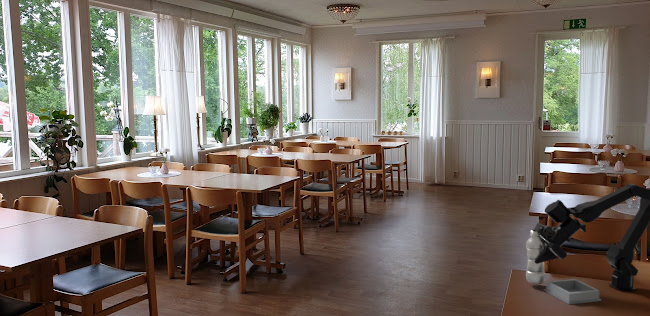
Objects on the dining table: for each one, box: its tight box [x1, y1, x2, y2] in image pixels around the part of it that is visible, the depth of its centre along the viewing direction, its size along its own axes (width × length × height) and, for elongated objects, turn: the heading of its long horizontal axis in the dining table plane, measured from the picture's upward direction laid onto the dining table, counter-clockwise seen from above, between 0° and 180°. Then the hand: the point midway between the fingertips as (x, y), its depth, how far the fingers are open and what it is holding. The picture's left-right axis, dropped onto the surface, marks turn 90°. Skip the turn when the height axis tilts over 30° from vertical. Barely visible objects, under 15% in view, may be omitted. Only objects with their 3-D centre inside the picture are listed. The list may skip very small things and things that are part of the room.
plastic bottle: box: [525, 228, 546, 285], centre depth 185 cm, size 6×7×20 cm
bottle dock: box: [543, 278, 602, 305], centre depth 177 cm, size 13×13×4 cm
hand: (532, 260), depth 185 cm, fingers closed on plastic bottle, 6 cm apart
